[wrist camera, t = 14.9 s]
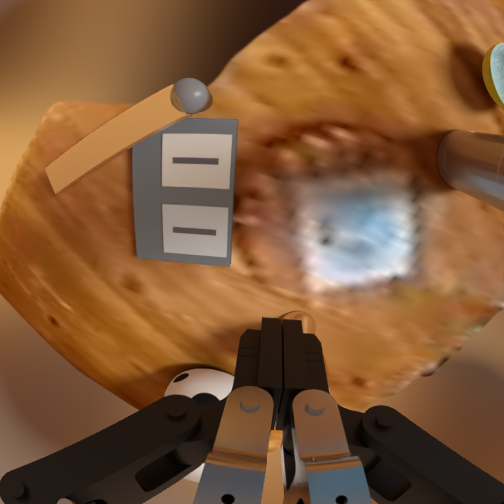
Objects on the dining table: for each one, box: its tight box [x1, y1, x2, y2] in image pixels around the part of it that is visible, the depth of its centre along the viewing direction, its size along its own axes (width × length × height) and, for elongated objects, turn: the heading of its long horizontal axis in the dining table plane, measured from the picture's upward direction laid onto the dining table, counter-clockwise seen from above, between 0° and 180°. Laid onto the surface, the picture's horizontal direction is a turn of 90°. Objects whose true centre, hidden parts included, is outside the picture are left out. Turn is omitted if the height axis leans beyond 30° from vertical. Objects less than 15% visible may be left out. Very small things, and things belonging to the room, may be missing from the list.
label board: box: [132, 118, 238, 267], centre depth 40 cm, size 14×20×2 cm
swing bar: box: [45, 78, 210, 194], centre depth 32 cm, size 24×4×2 cm, turn 113°
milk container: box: [164, 368, 234, 482], centre depth 47 cm, size 17×17×18 cm
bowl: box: [482, 43, 504, 110], centre depth 27 cm, size 11×12×6 cm
